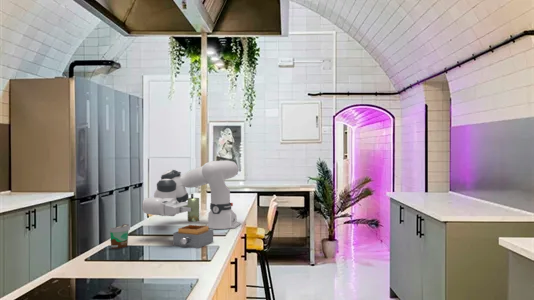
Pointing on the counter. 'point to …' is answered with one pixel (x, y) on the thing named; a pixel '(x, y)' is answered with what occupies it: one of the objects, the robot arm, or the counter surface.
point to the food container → (119, 236)
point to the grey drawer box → (193, 236)
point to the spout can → (193, 209)
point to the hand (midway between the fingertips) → (195, 208)
